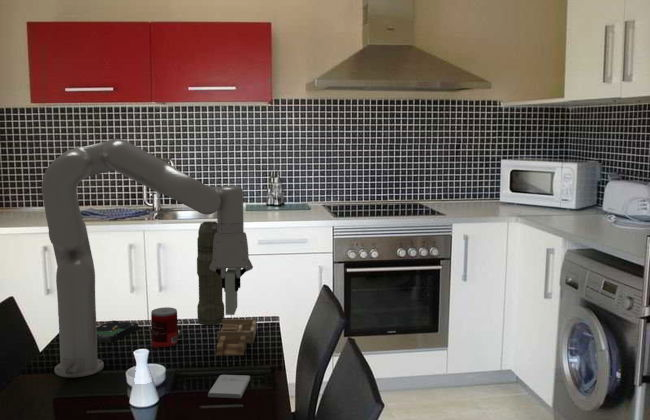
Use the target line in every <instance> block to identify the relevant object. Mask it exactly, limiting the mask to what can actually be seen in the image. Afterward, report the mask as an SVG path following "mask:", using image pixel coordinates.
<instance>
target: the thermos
mask: <svg viewBox="0 0 650 420" xmlns="http://www.w3.org/2000/svg"><path fill="white" fill-rule="evenodd" d="M217 223H218V222H217V221H203V222H201V223H200V224H199V227H198V236H197V238H196V239H197V242H196V243H197V257H196V274H197V276H198V303H197V305H196V306H197V310H196V311H197V319H198V324H199V325H203V326H217V325H221V324H222V319H225V304H224V301H223V288H222V278H221V276H220V275H219V274H217V273H216V272H215V271H212V270H210V269H209V266H210V264H211V262H212V260H213V242H214V235H215V233H217V230H215V229H212V225H215V224H217ZM220 269H221V268H220Z"/></svg>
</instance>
